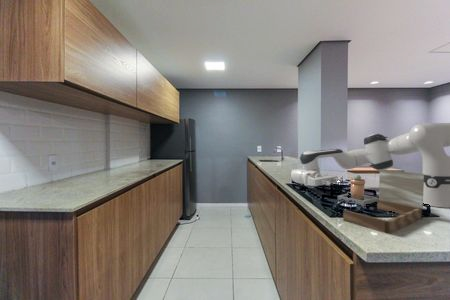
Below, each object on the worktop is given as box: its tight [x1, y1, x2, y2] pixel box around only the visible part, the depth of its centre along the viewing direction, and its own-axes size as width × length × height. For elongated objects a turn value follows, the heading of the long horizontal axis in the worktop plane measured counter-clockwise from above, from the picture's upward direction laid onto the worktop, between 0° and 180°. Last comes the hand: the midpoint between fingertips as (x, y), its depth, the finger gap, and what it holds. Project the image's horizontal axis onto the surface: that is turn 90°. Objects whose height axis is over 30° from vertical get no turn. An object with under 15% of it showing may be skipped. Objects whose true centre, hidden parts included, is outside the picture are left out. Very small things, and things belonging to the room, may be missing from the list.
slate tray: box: [337, 193, 379, 207], centre depth 127 cm, size 13×13×2 cm
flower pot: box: [349, 174, 366, 201], centre depth 127 cm, size 7×7×13 cm
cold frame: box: [342, 169, 424, 235], centre depth 100 cm, size 29×16×18 cm, turn 124°
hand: (335, 182), depth 137 cm, fingers open, 8 cm apart
